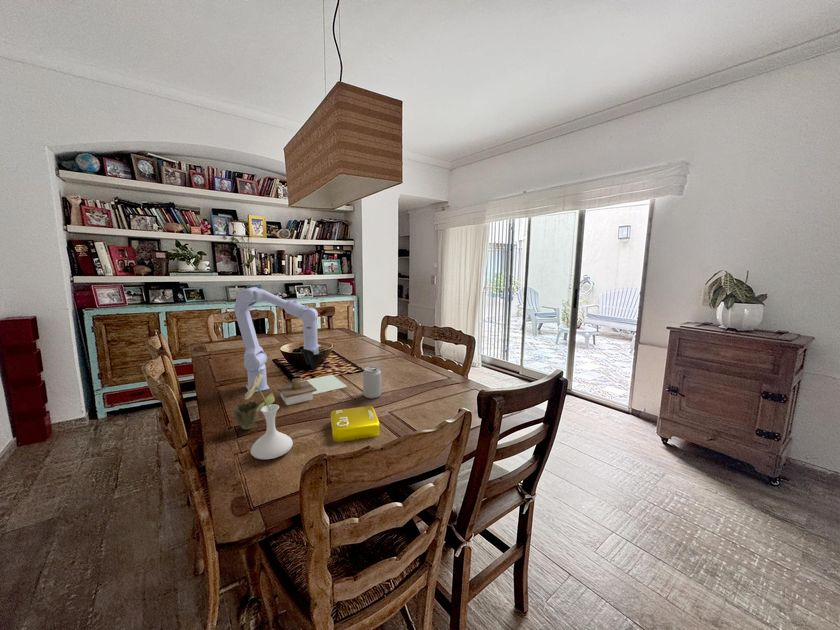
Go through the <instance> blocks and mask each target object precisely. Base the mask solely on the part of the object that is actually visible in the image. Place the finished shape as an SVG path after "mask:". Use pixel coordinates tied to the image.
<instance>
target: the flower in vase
mask: <svg viewBox="0 0 840 630" xmlns="http://www.w3.org/2000/svg"><path fill="white" fill-rule="evenodd" d="M262 377H263V375H261V374H259V376H258V377H256V378H255V381H254V384H253V385H250V386H249V389H250V390H249V391H248V390H247V391H246V393H245V394H244V400H246V401H247V400H250V398H251V397H252V396H253V394H254V393H256V392H255V391H256V390H257V389H258V390H259V391H258V392H259V393H260V394H261V397H262V398H263V400H264V401H263V402H262V403H260V404H259V407H258V408H257V410H256V412H257V411H258V412H259V411H260V412H261V413H262V414H263V416H264V419H265V424H266V429H265V430H266V431H265V433H264V434H263V435H262V436H260V437H259V438H258V439H256V440H255V442H254V443H253V444H252V446H251V448H250V455H251V456H253V458H255V459H258V460H271V459H276V458H279V457H282V456H283V455H285V454H287V453H288V452H289V451H290V450H291V448H292V447H293V444H294V442H293V439H292V438H291V436H289V435H287V434H285V433H283V432H280V431H278V430H277V429H276V415H277V412H278V410H279V409H280V406H279V405H278V404H275V403H274V402H275V400H276V399H275V396H274V394H273V392H270V393H269V394H268V395H267V396H266V397H265V396H264V393H263V391H261V390H260V389H259V384H260V382H261V380H262ZM273 403H274V404H273Z"/></svg>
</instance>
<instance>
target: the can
mask: <svg viewBox="0 0 840 630" xmlns="http://www.w3.org/2000/svg"><path fill="white" fill-rule="evenodd" d="M362 394H363V395H362V396H364V397H365V398H367V399H377V398H379V397H380V396H381V394H382V371H381V370H380V367H378V366H367V367H364V369H363V371H362Z"/></svg>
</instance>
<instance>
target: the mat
mask: <svg viewBox="0 0 840 630" xmlns="http://www.w3.org/2000/svg"><path fill="white" fill-rule="evenodd" d="M302 381H308V382H309V383H310V384H311V385H312V386H313V387H314V388H316V389H317V391H314V392H313V395H317V394H320V393H321V394H322V393H325V392H329V391H335V390H339V389H343V388H347V387H348V386H347V385H346V384H345V383H344V382H343V381H341V380H340V379H339V378H337V377H336V376H335V375H334V374H330V375H326V376H320V377H315V378H311V379H305V380H301V382H302Z"/></svg>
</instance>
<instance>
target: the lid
mask: <svg viewBox="0 0 840 630" xmlns="http://www.w3.org/2000/svg"><path fill="white" fill-rule="evenodd" d="M301 381H302V382H301ZM277 390H278V391H279V392H280V394H281V393H282V394H283V396H284V397H285V398H288V397H292V396H297V395H301V394H305V393H310V392H314V391H317V389H316V388H314V387H313V386H312V385H311V384H310V383H309V382H308V381H304V380H302V378H297V377H295V378H293V379H291V383H289V384H283V385H279V386H277Z"/></svg>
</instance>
